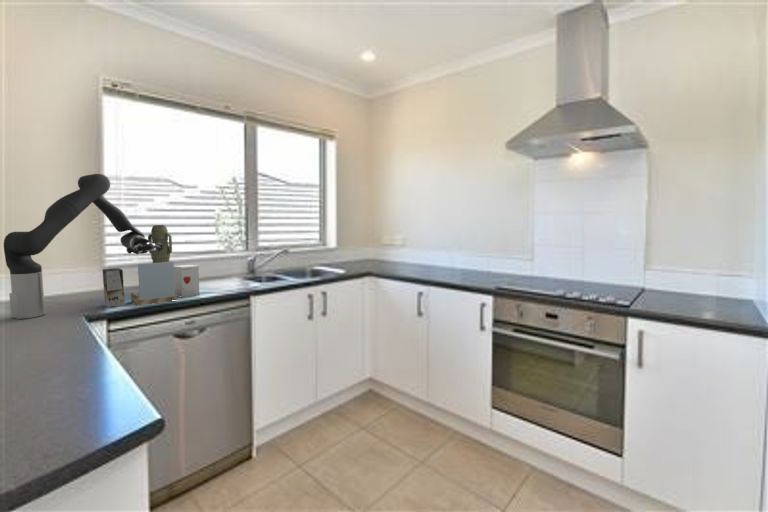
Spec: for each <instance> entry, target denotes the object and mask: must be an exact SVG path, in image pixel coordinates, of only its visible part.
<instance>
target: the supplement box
mask: <svg viewBox="0 0 768 512" xmlns="http://www.w3.org/2000/svg"><path fill="white" fill-rule="evenodd" d="M199 267H200V266H199V265H195V264H183V265H181V264H180V265H174V286H175V291H176V296H177V297H180V296H181V297H180V298H185V297H184V296H187V297H192V296H191V295H194V296H199V295H200V273H199V272H200V271H199Z"/></svg>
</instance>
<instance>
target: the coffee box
mask: <svg viewBox="0 0 768 512" xmlns="http://www.w3.org/2000/svg"><path fill="white" fill-rule="evenodd" d="M123 272H124V271H123V269H121V268H119V267H117V268H116V267H115V268H103V269H102V283H103V295H104V296H103V297H104V305H105V306H106V305H107V306H108V307H107V306H106V307H107V308H112V307H111V306H116V307H121V306H120V305H124V306H125V290H124V289H125V288H124V287H125V286H124V273H123Z"/></svg>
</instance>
